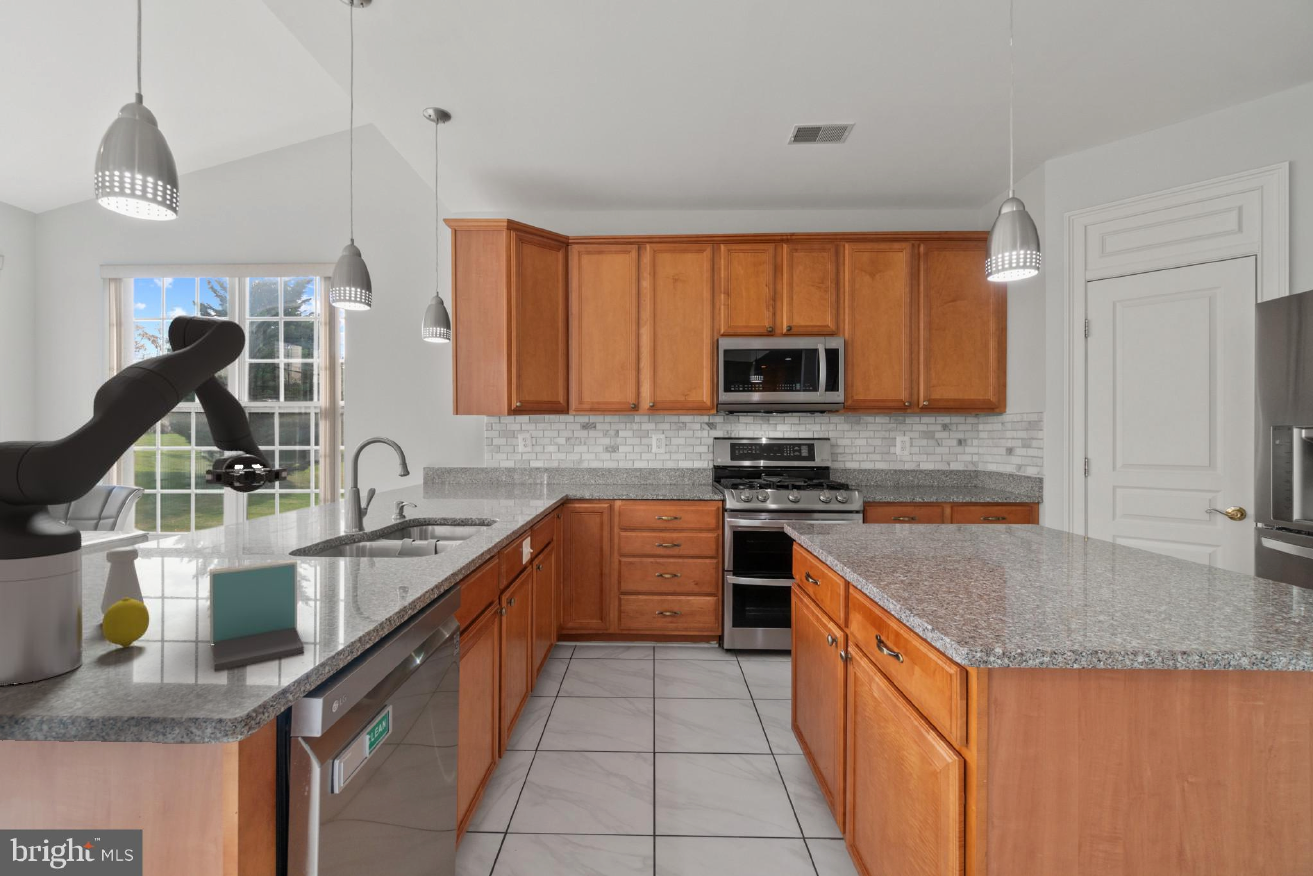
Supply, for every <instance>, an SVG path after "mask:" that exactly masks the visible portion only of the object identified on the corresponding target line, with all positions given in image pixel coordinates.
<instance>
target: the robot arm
mask: <svg viewBox="0 0 1313 876" xmlns="http://www.w3.org/2000/svg"><path fill="white" fill-rule="evenodd" d="M167 332H168V333H167V336H168V342H169V346H170V348H171V351H172V352H168V353H164V354H159V355H156V356H153V357H149V358H146V359H143V360H140V361H137V362H135V363H132V364H130V365H128V366H127V367H125V368H124V369H122V370H121V371H119V372H118V373H117V374H115V375H114V376H113V377H111V378H109V379H107V381H105V382H104V383H103V384H102V385H101V386H100V387H99V388H98V389H97V390H96V392H95V395H94V399H93V405H92V406H93V409H92V410H93V416H92V417H91V419H90V420H88V422H85V424H83V425H82V426H81V427H79V428H78V429H76V430H75V431H73V432H72V433H70V434H69V435H66V436H65V437H63V438H60V439H56V440H7V441H6V440H5V441H1V442H0V686H7V685H6V684H14V683H22V684H27V683H31V682H32V681H33V682H37V681H41V680H42V681H43V680H46V679H49V678H53V677H56V676H60V675H62V674H65V673H67V672H71V671H73V670H75V669H76V668H79V667H80V666H81V665H82V664H83V652H84V648H83V647H84V646H83V565H82V563H83V559H82V558H83V553H82V552H83V548H82V547H83V546H82V545H83V544H82V543H83V542H82V541H83V540H82V532H81V531H80V530H79V529H78V528H77V527H74V526H71V525H68V524H66V523H64V522H62V521H60V520H58V519H57V518H55V517H54V516H53V515H52V514H51V512H50V510H49V506H59V505H65V504H66V505H67V504H70V503H73V502H76V501H78V500H80V499H81V498H83V497H85V496H86V495H87V494H88V493H90V492H91V491H92V490H94V488H95V487H96V486H97V485H98V483H99V482H101V480H103V478H104V477H105V475H107V473H109V471H110V470H111V469H112V467H113V466H114V465H115V464H116V463H117V462H118V461H119V460H120V458H121V457H122V456H123V455H124V454H125V453H126V452H127V451H128V450H129V448H131V447H132V446H133V445H134V444H136V443H137V441H138V440H139V439H141V438H142V436H143V435H145V434H146V433H147V432H148V431H149V430H151V428H152V427H154V426H155V425H156V424H158V422H160V421H161V420H163V418H164V417H166V416H167V415H168V414H169V413H170V412H171V411H172V410H173V411H174V410H175V408H176V407H177V406H178V405H179V404H180V403H181V402H182V401H183V400H185V398H186V397H187V396H189V395H190V394H191V393H192V392H193V393H194V394H195V396H196V398H197V399H198V401H199V403H200V406H201V408H202V410H203V412H204V414H205V418H206V421H207V424H208V427H209V431H210V434H211V437H212V441H213V444H214V447H216V448H217V449H218V450H219V451H220V450H221V451H222V452H238V453H234V454H231V455H229V454H228V455H224V456H221V457H217V458H216V459H215V460H214V461H213V464H212V468H211V469H206V470H205V484H208V485H211V484H213V485H219V486H221V487H223V488H230V489H231V490H233V491H235V492H238V493H251V492H252V493H253V492H256V491H257V490H260V489H261V488H262V487H264V486H265V485H266V484H267V483H270V484H272V483H276V482H283V481H284V482H285V481H287V479H288V478H287V477H288V475H287V474H288V471H287V469H288V468H287V467H284V466H282V467H277V468H276V467H275V468H271V465H270V462H269V460H268V458H267V457H266V455H265V454H264V453H263V450H261V448H260V447H259V446H258V444H257V443H256V441H255V438H254V436H253V434H252V430H251V425H250V423H249V419H248V416H247V413H246V410H245V409H244V407H243V405H242V404H241V402H240V401H239V400H238V399H237V398H236V397H235V396H234V394H232V392H231V391H229V389H227V387H225V386H224V384H223V383H222V382H221V381H220V380H219V378H217V376H216V374H217V373H219V372H221V371H223V370H224V369H225V368H227V367H228V366H230V365H231V364H233V363H234V362H236V361H237V360H238V358H239V357H240V356H241V354H242V353H243V351H244V348H245V345H246V335H245V331H244V328H242V327H241V325H240V324H239V323H237V322H236V321H234V320H231V319H228V318H223V317H213V316H203V315H196V314H194V315H193V314H181V315H178V316H176V317H175V318H173V319H172V320H171V322H170V324H169V326H168V331H167ZM4 684H5V685H4ZM14 685H15V684H14Z"/></svg>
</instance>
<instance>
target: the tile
mask: <svg viewBox="0 0 1313 876" xmlns="http://www.w3.org/2000/svg"><path fill="white" fill-rule="evenodd" d="M293 627H295V628H296V629H297V630H298V561H297V559H289V560H280V561H272V562H264V563H256V564H255V563H254V564H247V565H239V566H238V565H237V566H231V567H223V568H222V567H221V568H214V569H213V568H212V569H209V646H210V645H211V644H214V642H216V641H221V640H227V639H232V638H238V637H243V636H249V635H254V634H260V633H266V632H271V631H277V630H282V629H288V628H293ZM211 646H212V645H211Z"/></svg>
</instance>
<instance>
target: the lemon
mask: <svg viewBox="0 0 1313 876" xmlns="http://www.w3.org/2000/svg"><path fill="white" fill-rule="evenodd" d="M149 614H150V613H149V609H148V607H147V606H146V605H145V603H144V604H143V603H142V602H140V601H138V600H134V599H130V598H129V597H127V598H123V599H122V600H121V601H119V602H117V603H115V604H113V605H112V606H111V607H110V608H109V609H108V610H107V611H106V613H105V615H104V614H103V619H102V623H101V631H102V634H103V637H104V639H106V640H107V641H108V642H109V643H110V644H114V645H119V646H120V647H122V648H128V647H130V646H131V645H132V644H133V643H134V642H136V641H138V640H139V639H141V638H142V637H143V636H144V635H145V633H146V632H147V630H148V628H149V625H150V615H149Z"/></svg>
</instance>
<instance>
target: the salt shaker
mask: <svg viewBox="0 0 1313 876" xmlns="http://www.w3.org/2000/svg"><path fill="white" fill-rule="evenodd" d="M138 558H139V550H138V548H136V547H132V546H126V547H125V546H124V547H123V546H121V547H117V548H112V549H110V550H109V551H107V552H106V556H105V559H106V561H107V563H110V566H109V570H108V574H107V580H106V583H105V588H104V593H103V597H102V600H101V601H102V602H101V605H100V609H101V613H102V614H103V616H104V615H105V613H106V611H107V610H108V609H109V608H110V607H111V606H112V605H113V604H115V603H117V602H119V601H121V600H122V599H123V598H127V597H129V598H130V599H134V600H138V601H140V602H142V603H143V604H144V605H145V601H144V596H143V593H142V590H141V587H140V581H139V577H138V574H137V568H136V564H135V560H137V559H138Z"/></svg>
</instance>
